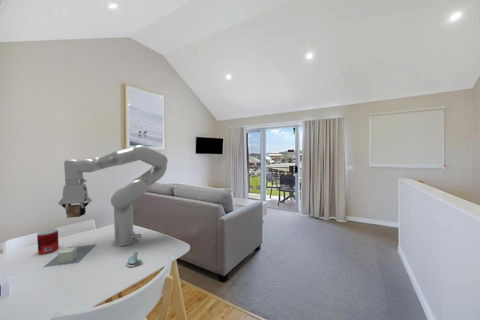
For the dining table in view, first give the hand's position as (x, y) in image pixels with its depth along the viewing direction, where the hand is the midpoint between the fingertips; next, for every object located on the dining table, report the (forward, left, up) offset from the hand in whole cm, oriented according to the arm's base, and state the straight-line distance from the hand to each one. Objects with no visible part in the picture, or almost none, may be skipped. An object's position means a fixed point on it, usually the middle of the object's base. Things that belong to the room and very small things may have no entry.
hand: (76, 215), depth 108 cm
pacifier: (-33, +23, -19) cm, 45 cm away
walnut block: (0, 0, 0) cm, 0 cm away
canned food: (+14, -2, -19) cm, 24 cm away
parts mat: (-1, +6, -19) cm, 20 cm away
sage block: (-2, +12, -19) cm, 22 cm away
